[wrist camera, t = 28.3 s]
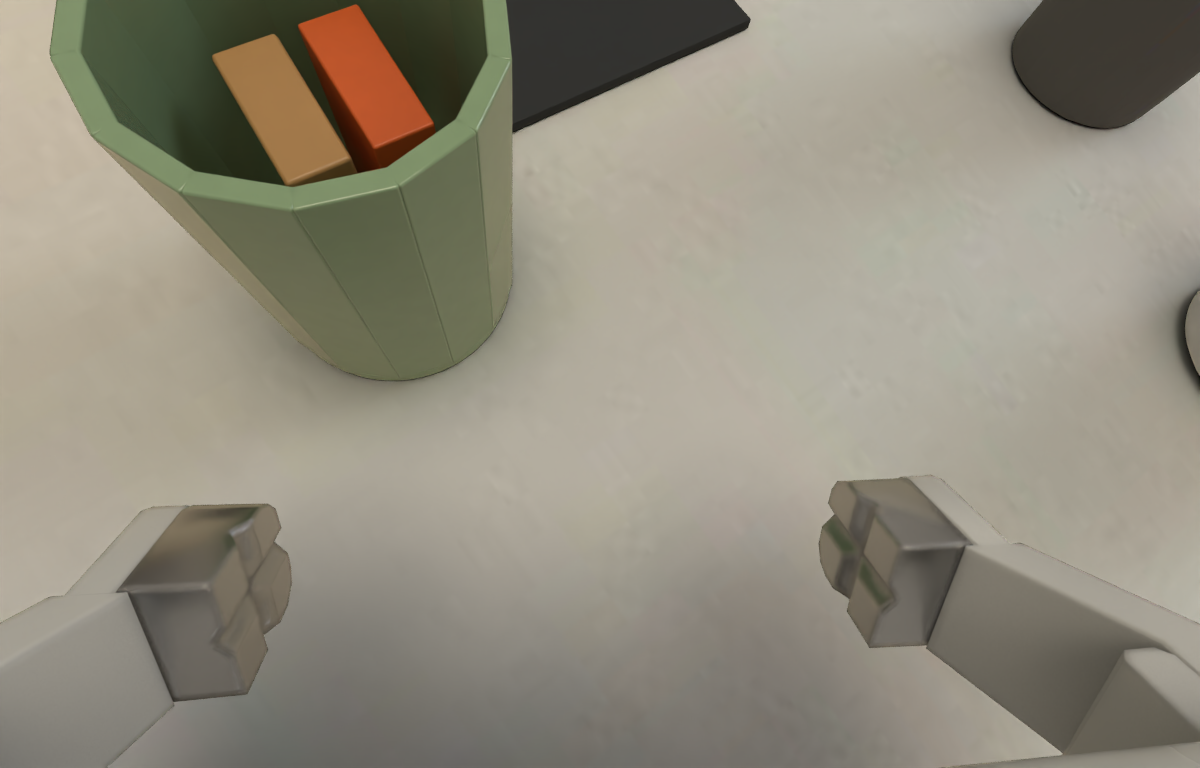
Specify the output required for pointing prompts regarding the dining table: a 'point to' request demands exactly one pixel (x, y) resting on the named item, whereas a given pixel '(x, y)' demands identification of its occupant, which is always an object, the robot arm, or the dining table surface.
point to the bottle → (1107, 56)
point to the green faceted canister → (326, 208)
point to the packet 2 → (365, 89)
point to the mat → (602, 45)
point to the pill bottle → (1194, 330)
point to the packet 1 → (283, 112)
